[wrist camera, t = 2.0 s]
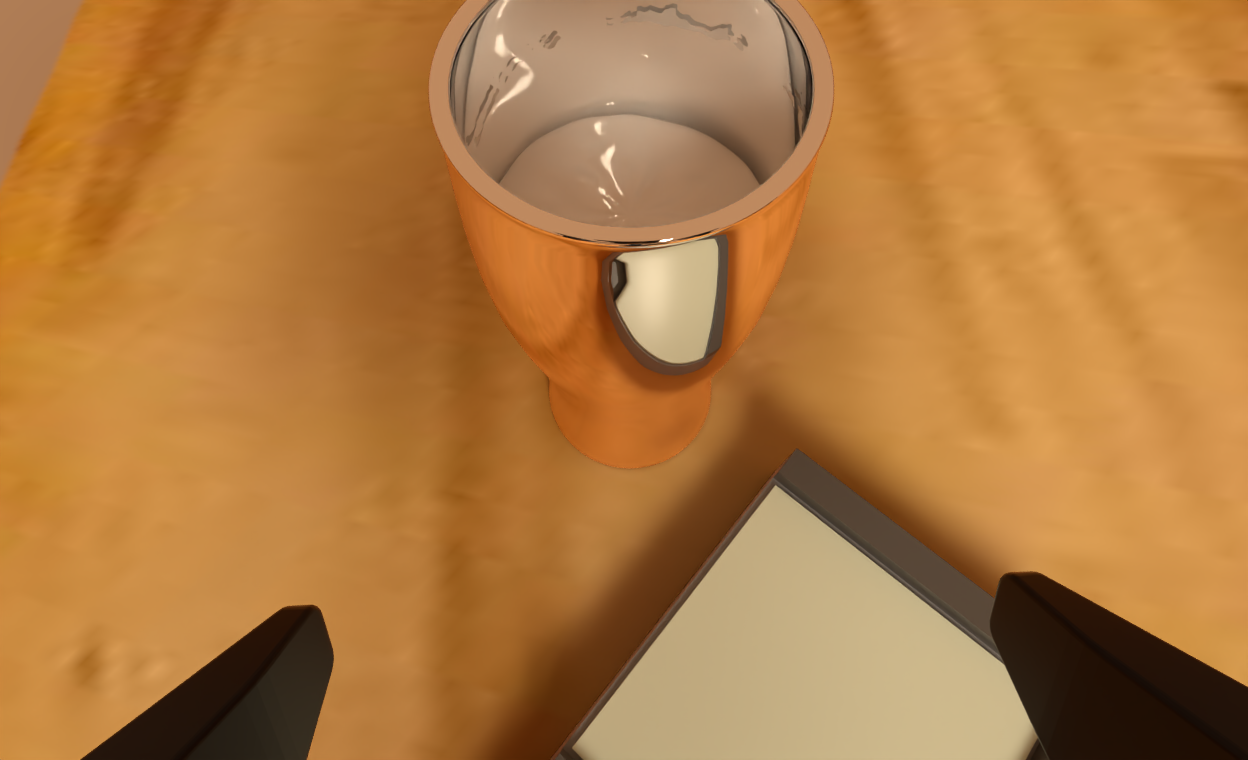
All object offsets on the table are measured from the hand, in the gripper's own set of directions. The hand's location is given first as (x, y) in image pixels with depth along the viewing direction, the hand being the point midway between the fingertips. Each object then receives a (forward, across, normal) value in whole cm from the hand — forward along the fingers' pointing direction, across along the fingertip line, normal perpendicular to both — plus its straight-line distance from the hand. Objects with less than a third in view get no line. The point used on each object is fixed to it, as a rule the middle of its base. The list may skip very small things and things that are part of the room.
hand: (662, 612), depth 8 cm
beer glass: (+16, 0, +4) cm, 16 cm away
